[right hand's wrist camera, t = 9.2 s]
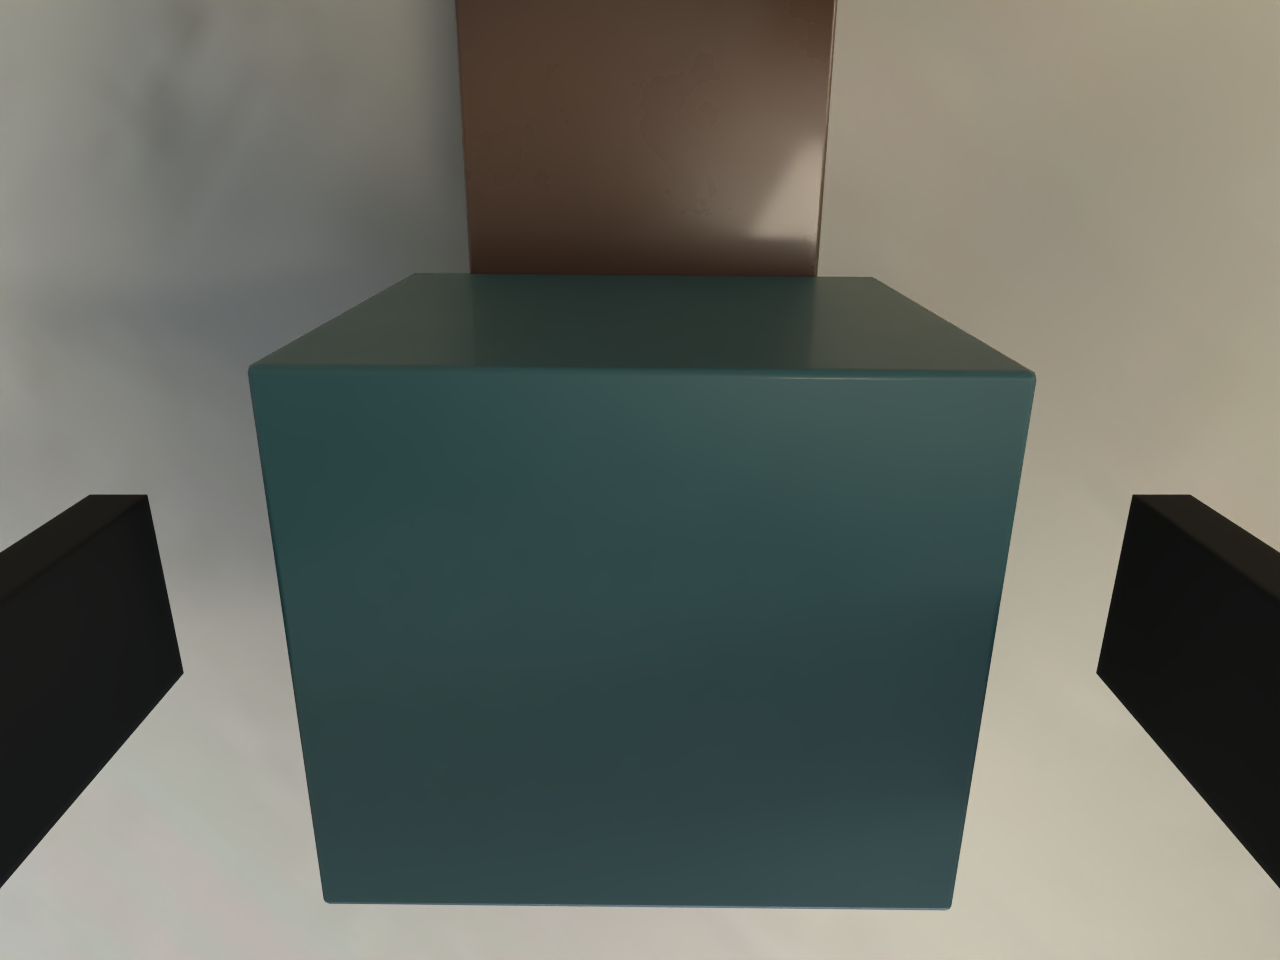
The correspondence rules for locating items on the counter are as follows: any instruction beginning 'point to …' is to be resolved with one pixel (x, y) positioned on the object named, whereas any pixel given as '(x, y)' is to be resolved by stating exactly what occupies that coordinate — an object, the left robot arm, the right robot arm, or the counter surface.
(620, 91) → the plank
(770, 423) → the cap block
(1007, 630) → the counter surface
